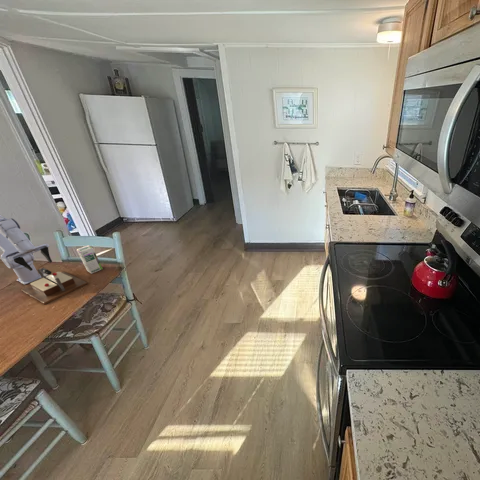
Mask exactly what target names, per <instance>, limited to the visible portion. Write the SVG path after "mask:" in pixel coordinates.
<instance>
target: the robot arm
mask: <svg viewBox="0 0 480 480" xmlns="http://www.w3.org/2000/svg"><path fill="white" fill-rule="evenodd" d="M49 248H50V244H49V243H48V242H47V243H42V244H40V245H36V246H35V245H34V244H33V243H32V241H31V240H30V239H29V237H28V236H27V235H26V234H25V233H24V231H22V229H21V226H20V223H18V221H17V220H16V219H15V218H13V217H10V218H8V217H5V216H4V215H1V214H0V250H1V251H2V252H3V253H2V254H1V255H0V260H1V261H2V262H3V264H4V265H5V267H7V268H8V269H11V270H13V272H14V273H15V275H16V276H17V279H16V281H17V282H19V283H20V284H23V285H27V284H30V283H32V282H34V281H37V280H39V279H42V277H41V276H40V274H39V272H38V271H37V270H38V269H37V268H36V266H35V264H34V261H35V256H34V255H33V254H34V253H37V252H39V251H40V254H41V255H42V256H43V257H44V258H45V259H46V261H47V262H48V263H52V262H53V260H52V258H51V256H50V252H49V251H50V250H49Z"/></svg>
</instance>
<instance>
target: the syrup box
mask: <svg viewBox="0 0 480 480" xmlns="http://www.w3.org/2000/svg"><path fill="white" fill-rule="evenodd" d="M76 252H77V254H78V256H79V258H80V260H81V262H82V263H83V265H84V268H85V270H86V271H87V272H88V273H90V274H91V275H93V274H95V273H97V272H99V271H102V270H103V267H102V264H101V262H100V260H99V258H98V255H97V254H96V251H95V249H94V248H93V246H91V245H89V244H88V245H85V246H83V247H79V248H77V249H76Z"/></svg>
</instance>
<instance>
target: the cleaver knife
mask: <svg viewBox="0 0 480 480" xmlns="http://www.w3.org/2000/svg"><path fill="white" fill-rule="evenodd" d="M39 270H40V271H41V273H42V275H43V276H44V277H46V279H47V278H48V279H49V280H51V281H53V282H55V283H57V282H56V280H55V276H54V275H52V274H53V273H52V271H51V270H50V269H47V268H45V267H42V268H39Z"/></svg>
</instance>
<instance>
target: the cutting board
mask: <svg viewBox="0 0 480 480" xmlns="http://www.w3.org/2000/svg"><path fill="white" fill-rule="evenodd" d="M39 269H40V268H39ZM39 269H36V270H37V272H38V273H39V274H40V276H41V277H42V278H45V279H47V278H46V277H44V276H43V275H42V273H41V271H40V270H39ZM60 272H61V273H63V274H66V275H68V276H70V277H72V278H73V280H74V282H75V283H74V284H72V285H70V286H68V287H65V288H64V287H63V285H62V283H61V281H60V280H59V278H55V280H56V282H57V284H58V285H59V289H60V290H59V291H57V292H55V293H52V294H50V295H48V296H45V295H44V294H42V293H40V292H38V291H36V290H35V289H33V288H32V286H31V285H28V286H26V287H23V288H21V289H20V291H21V292H22V293H24V294H26V295H28V296H29V297H31V298H33V299H35V301H36V300H37V301H38V302H40V303H41V304H43V305H47V304H48V303H51V302H53V301H55V300H57V299H59V298H62V297H63V296H65V295H68V294H70V293H71V292H74V291H76V290H79V289H80V288H82V287H84V286H86V285H88V284H89V283H88V282H87V281H85V280H83V279H82V278H81V279H80V278H79V277H77V276H75V275H73V274H70V273H68V272H66V271H64V270H63V271H60ZM42 278H41V279H42ZM47 280H48V279H47Z"/></svg>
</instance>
